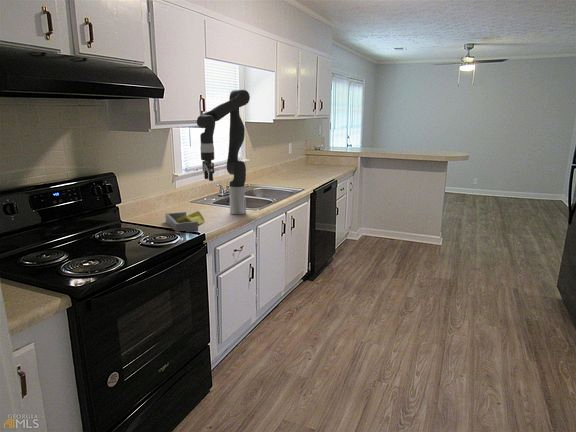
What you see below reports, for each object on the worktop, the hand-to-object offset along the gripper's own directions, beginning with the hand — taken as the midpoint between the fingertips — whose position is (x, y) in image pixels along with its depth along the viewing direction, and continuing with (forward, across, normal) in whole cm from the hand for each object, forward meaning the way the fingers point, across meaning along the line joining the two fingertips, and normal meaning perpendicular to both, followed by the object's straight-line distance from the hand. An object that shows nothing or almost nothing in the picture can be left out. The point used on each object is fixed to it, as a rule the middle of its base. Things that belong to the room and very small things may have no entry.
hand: (208, 179), depth 236 cm
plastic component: (+24, -6, +15) cm, 28 cm away
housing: (+23, -8, +18) cm, 31 cm away
